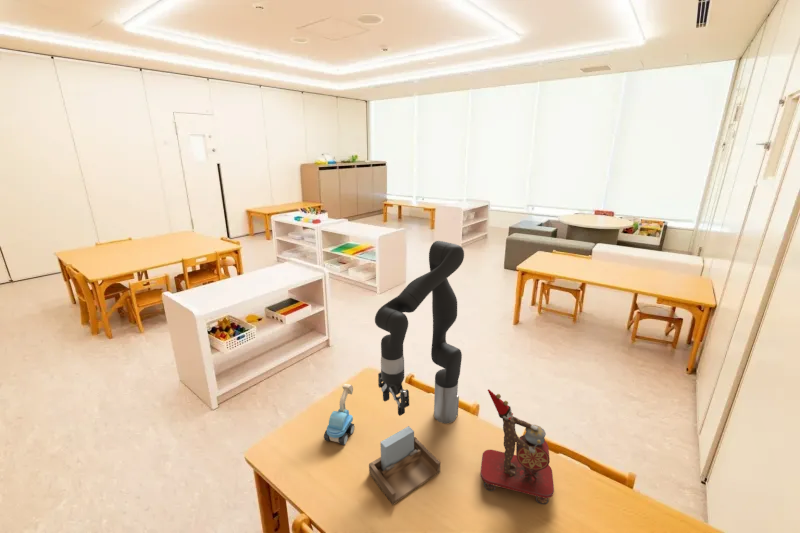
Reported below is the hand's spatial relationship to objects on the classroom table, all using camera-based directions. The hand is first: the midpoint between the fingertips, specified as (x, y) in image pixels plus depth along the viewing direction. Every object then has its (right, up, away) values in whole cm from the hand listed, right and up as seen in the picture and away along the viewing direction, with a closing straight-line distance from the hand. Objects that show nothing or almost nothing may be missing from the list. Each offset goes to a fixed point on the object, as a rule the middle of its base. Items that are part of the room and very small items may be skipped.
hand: (393, 406), depth 121 cm
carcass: (+4, -24, +3) cm, 25 cm away
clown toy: (+41, -25, 0) cm, 48 cm away
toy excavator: (-20, -18, +22) cm, 35 cm away
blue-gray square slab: (+1, -22, +6) cm, 23 cm away
